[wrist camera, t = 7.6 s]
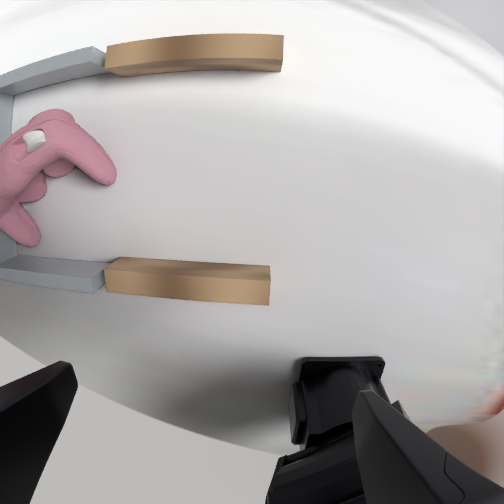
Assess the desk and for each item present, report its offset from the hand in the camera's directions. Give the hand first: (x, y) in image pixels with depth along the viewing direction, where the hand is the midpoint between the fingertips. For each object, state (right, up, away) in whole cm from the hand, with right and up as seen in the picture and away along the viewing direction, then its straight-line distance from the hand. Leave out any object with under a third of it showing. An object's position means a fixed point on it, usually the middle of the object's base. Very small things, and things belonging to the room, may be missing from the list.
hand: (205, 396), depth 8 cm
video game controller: (-12, +9, +11) cm, 19 cm away
